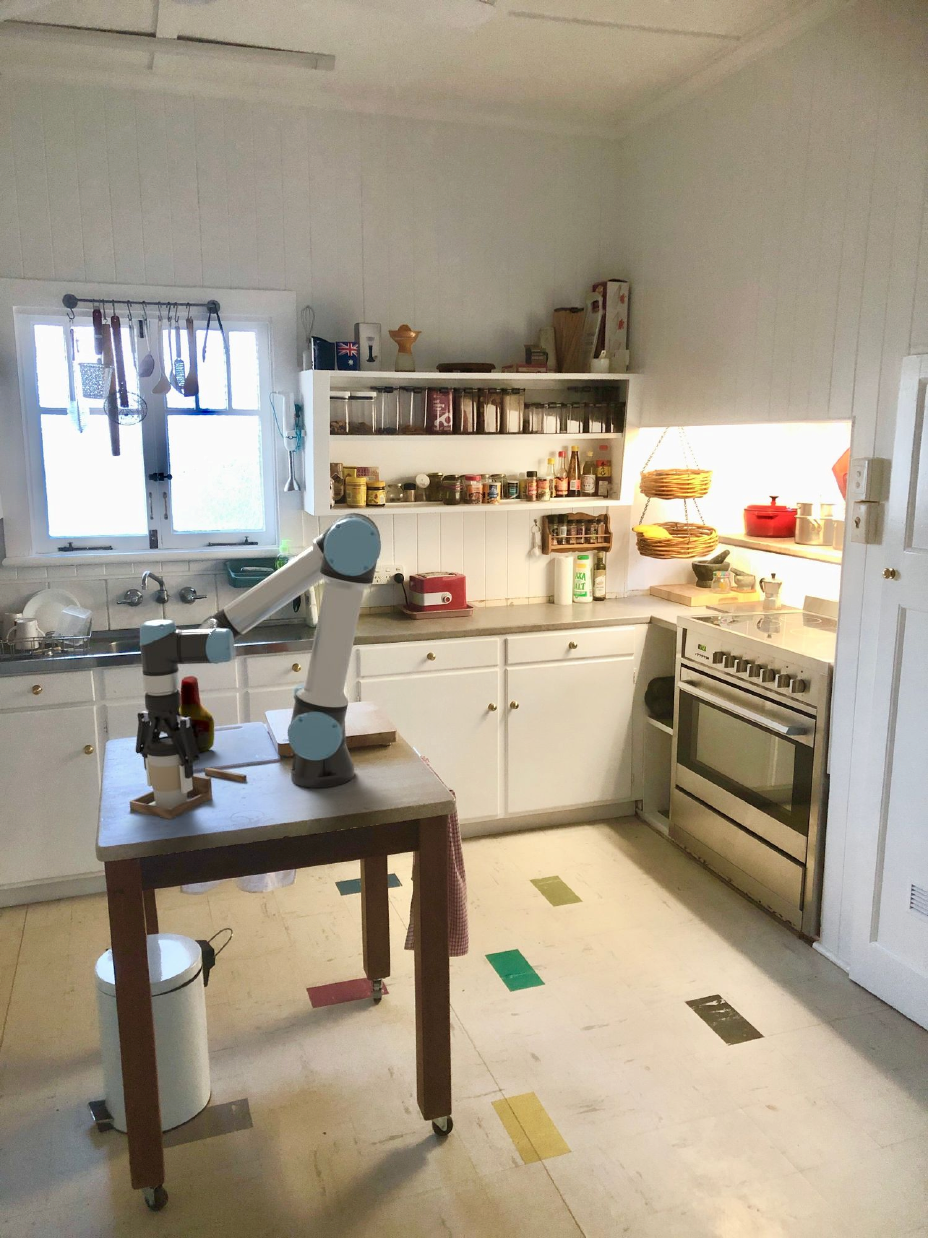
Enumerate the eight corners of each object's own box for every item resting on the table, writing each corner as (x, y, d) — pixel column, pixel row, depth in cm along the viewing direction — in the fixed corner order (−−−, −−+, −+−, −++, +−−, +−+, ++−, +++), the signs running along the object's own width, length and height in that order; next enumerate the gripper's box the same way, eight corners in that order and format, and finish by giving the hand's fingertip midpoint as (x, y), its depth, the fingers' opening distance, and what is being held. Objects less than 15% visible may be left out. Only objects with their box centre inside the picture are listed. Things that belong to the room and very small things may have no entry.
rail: (246, 780, 227) (246, 775, 226) (243, 782, 226) (243, 776, 225) (207, 773, 232) (207, 767, 232) (205, 774, 231) (204, 768, 231)
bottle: (218, 746, 251) (213, 673, 247) (211, 755, 245) (206, 680, 241) (173, 747, 251) (168, 674, 247) (165, 755, 245) (159, 680, 241)
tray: (212, 798, 216) (210, 777, 215) (171, 819, 205) (169, 797, 204) (172, 790, 221) (170, 769, 220) (130, 810, 210) (128, 788, 209)
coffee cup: (199, 796, 216) (195, 733, 213) (179, 812, 207) (174, 747, 204) (163, 793, 218) (159, 731, 215) (142, 809, 210) (136, 744, 207)
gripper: (212, 692, 206) (219, 789, 210) (137, 681, 216) (145, 774, 220) (188, 701, 199) (196, 801, 204) (112, 689, 209) (121, 785, 214)
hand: (170, 787), depth 212 cm, fingers open, 9 cm apart
